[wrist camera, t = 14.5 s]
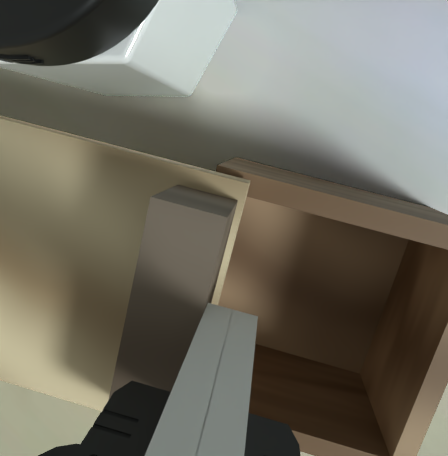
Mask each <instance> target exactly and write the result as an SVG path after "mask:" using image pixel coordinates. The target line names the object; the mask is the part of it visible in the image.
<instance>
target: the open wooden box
mask: <svg viewBox="0 0 448 456" xmlns="http://www.w3.org/2000/svg"><path fill="white" fill-rule="evenodd" d="M216 172H219V173H223V174H227V175H231V176H235V177H238V178H242V179H246V180H250V185H249V189H248V193H247V197H246V200H245V204H244V208H243V212H242V216H241V219H240V223H239V227H238V231H237V235H236V238H235V242H234V246H233V250H232V254H231V257H230V261H229V265H228V269H227V273H226V276H225V280H224V284H223V288H222V292H221V295H220V299H219V303H218V306H222V307H226V308H229V309H233V310H236V311H240V312H244V313H247V314H251V315H255V316H258V320H257V331H256V341H255V351H254V361H253V371H252V381H251V392H250V402H249V412H248V413H251V414H254V415H257V416H261V417H264V418H268V419H271V420H275V421H278V422H281V423H285V424H288V425H289V426H290V428H291V430H292V432H293V434H294V436H295V438H296V439H297V441H298V443H299V446H300V451H301V452H305V453H308V454H311V455H314V456H417V453H418V451H419V449H420V446H421V444H422V442H423V439H424V437H425V435H426V432H427V430H428V428H429V425H430V423H431V421H432V418H433V416H434V414H435V411H436V409H437V407H438V404H439V402H440V400H441V397H442V395H443V392H444V390H445V388H446V385H447V383H448V215H447V214H444V213H442V212H440V211H437V210H435V209H433V208H430V207H427V206H423V205H419V204H415V203H411V202H407V201H403V200H399V199H396V198H392V197H388V196H384V195H380V194H376V193H372V192H369V191H365V190H361V189H357V188H353V187H349V186H345V185H341V184H338V183H334V182H330V181H326V180H322V179H318V178H314V177H311V176H307V175H303V174H299V173H295V172H291V171H287V170H283V169H280V168H276V167H272V166H268V165H264V164H260V163H256V162H253V161H249V160H245V159H241V158H237V157H235V158H233V159H230V160H228V161H226V162H223V163H221V164H218V165H217V168H216Z"/></svg>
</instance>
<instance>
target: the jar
mask: <svg viewBox="0 0 448 456" xmlns="http://www.w3.org/2000/svg"><path fill="white" fill-rule="evenodd" d="M236 13H237V6H236V3H235V0H0V68H3V69H7V70H11V71H14V72H18V73H22V74H26V75H29V76H33V77H37V78H41V79H44V80H48V81H52V82H56V83H60V84H63V85H67V86H71V87H75V88H78V89H82V90H86V91H90V92H93V93H97V94H101V95H105V96H178V97H188V96H190V95H192V93H193V91H194V90H195V88H196V86H197V84H198V82H199V80H200V79H201V77H202V75H203V73H204V71H205V70H206V68H207V66H208V64H209V62H210V60H211V59H212V57H213V55H214V53H215V51H216V50H217V48H218V46H219V44H220V42H221V41H222V39H223V37H224V35H225V33H226V31H227V30H228V28H229V26H230V24H231V22H232V21H233V19H234V17H235V15H236Z"/></svg>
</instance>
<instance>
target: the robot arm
mask: <svg viewBox="0 0 448 456" xmlns="http://www.w3.org/2000/svg"><path fill="white" fill-rule="evenodd" d="M257 320H258V316H255V315H251V314H247V313H244V312H240V311H236V310H233V309H229V308H226V307H222V306H218V305H215V304H211V303H208V304H207V306H206V309H205V311H204V314H203V316H202V318H201V321H200V323H199V325H198V328H197V330H196V333H195V335H194V338H193V340H192V342H191V345H190V347H189V350H188V352H187V355H186V357H185V359H184V362H183V364H182V367H181V369H180V371H179V374H178V376H177V379H176V381H175V384H174V386H173V388H172V391H171V392H169V391H166V390H163V389H159V388H156V387H152V386H149V385H146V384H142V383H139V382H135V381H130V382H129V383H127V384H126V385H124V386H123V387H121V388H119V389H118V390H116V391H115V392H114V393H113V394H112V396H111V398H110V399H109V401H108V402H107V404H106V405H105V407H104V408H103V411H102V412H101V413H100V415H99V416H98V418H97V419H96V421H95V423H94V425H93V427H91V429H90V430H89V432H88V433H87V435H86V437H85V438H84V440H83V441H82V443H81V444H72V445H66V446H59V447H55V448H53V449H51V450H49V451H47V452H45V453H43V454H40V455H38V456H300V446H299V443H298V441H297V439H296V438H295V436H294V434H293V432H292V430H291V428H290V426H289V425H288V424H285V423H281V422H278V421H275V420H271V419H268V418H264V417H261V416H257V415H254V414H251V413H248V412H249V402H250V392H251V381H252V371H253V361H254V351H255V341H256V331H257Z"/></svg>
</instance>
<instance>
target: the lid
mask: <svg viewBox="0 0 448 456" xmlns="http://www.w3.org/2000/svg"><path fill="white" fill-rule="evenodd" d="M249 185H250V180H246V179H242V178H238V177H235V176H231V175H227V174H223V173H219V172H215V171H212V170H208V169H204V168H200V167H196V166H193V165H189V164H185V163H181V162H177V161H173V160H170V159H166V158H162V157H158V156H154V155H151V154H147V153H143V152H139V151H135V150H131V149H128V148H124V147H120V146H116V145H112V144H109V143H105V142H101V141H97V140H93V139H89V138H86V137H82V136H78V135H74V134H70V133H66V132H63V131H59V130H55V129H51V128H47V127H44V126H40V125H36V124H32V123H28V122H24V121H21V120H17V119H13V118H9V117H5V116H2V115H0V380H1V381H4V382H8V383H11V384H14V385H17V386H21V387H24V388H27V389H30V390H34V391H37V392H40V393H44V394H47V395H50V396H53V397H57V398H60V399H63V400H66V401H70V402H73V403H76V404H80V405H83V406H86V407H89V408H93V409H96V410H99V411H103V408H104V407H105V405H106V404H107V402H108V401H109V399H110V398H111V396H112V394H113V393H114V392H115V391H116V390H118V389H119V388H121V387H123V386H124V385H126V384H127V383H129V382H130V381H135V382H139V383H142V384H146V385H149V386H152V387H156V388H159V389H163V390H166V391H169V392H171V391H172V388H173V386H174V384H175V381H176V379H177V376H178V374H179V371H180V369H181V367H182V364H183V362H184V359H185V357H186V355H187V352H188V350H189V347H190V345H191V342H192V340H193V338H194V335H195V333H196V330H197V328H198V325H199V323H200V321H201V318H202V316H203V314H204V311H205V309H206V306H207V304H208V303H211V304H215V305H218V303H219V299H220V295H221V292H222V288H223V284H224V280H225V276H226V273H227V269H228V265H229V261H230V257H231V254H232V250H233V246H234V242H235V238H236V235H237V231H238V227H239V223H240V219H241V216H242V212H243V208H244V204H245V200H246V197H247V193H248V189H249Z"/></svg>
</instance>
